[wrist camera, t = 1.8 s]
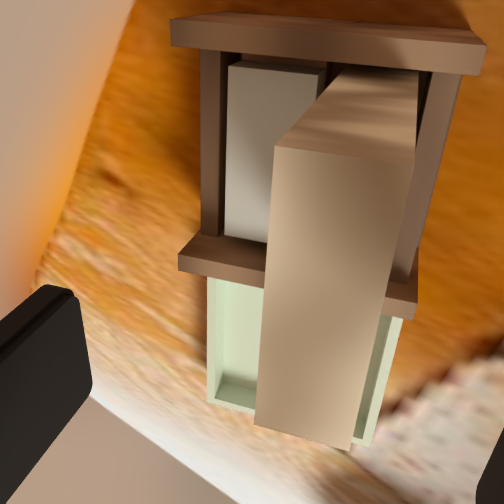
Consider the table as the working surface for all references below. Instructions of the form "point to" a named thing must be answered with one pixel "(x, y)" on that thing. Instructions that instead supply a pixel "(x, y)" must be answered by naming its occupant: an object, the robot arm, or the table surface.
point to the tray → (248, 345)
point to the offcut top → (260, 136)
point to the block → (333, 250)
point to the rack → (341, 54)
